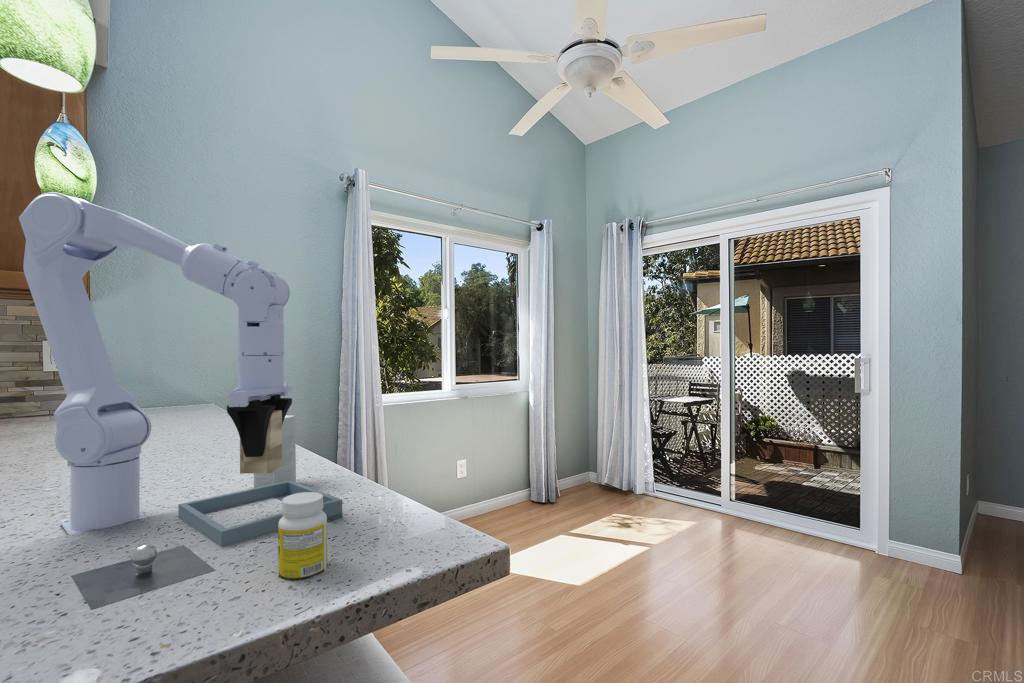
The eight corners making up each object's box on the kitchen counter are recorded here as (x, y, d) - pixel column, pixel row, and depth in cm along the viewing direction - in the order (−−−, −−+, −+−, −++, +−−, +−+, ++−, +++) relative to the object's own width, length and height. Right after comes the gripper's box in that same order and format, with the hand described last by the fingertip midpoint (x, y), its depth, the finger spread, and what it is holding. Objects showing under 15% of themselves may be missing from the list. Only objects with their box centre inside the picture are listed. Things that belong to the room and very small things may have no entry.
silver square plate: (71, 583, 50) (71, 547, 50) (183, 551, 58) (183, 520, 58) (91, 618, 44) (91, 576, 44) (215, 577, 51) (215, 542, 51)
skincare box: (274, 481, 88) (274, 414, 88) (296, 482, 87) (296, 415, 87) (252, 491, 82) (252, 419, 82) (275, 492, 81) (275, 420, 81)
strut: (240, 473, 66) (240, 414, 66) (253, 466, 70) (253, 410, 70) (270, 472, 67) (270, 414, 67) (282, 465, 71) (281, 410, 71)
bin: (178, 522, 68) (178, 504, 68) (290, 495, 79) (290, 480, 79) (221, 553, 57) (221, 531, 57) (342, 517, 69) (342, 499, 69)
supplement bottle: (292, 566, 54) (291, 490, 54) (334, 567, 54) (334, 490, 54) (269, 588, 49) (269, 504, 49) (315, 589, 49) (315, 504, 49)
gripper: (269, 356, 62) (269, 464, 62) (308, 354, 76) (308, 441, 76) (211, 356, 61) (211, 465, 61) (261, 354, 76) (261, 442, 75)
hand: (261, 452), depth 69 cm, fingers closed on strut, 4 cm apart
